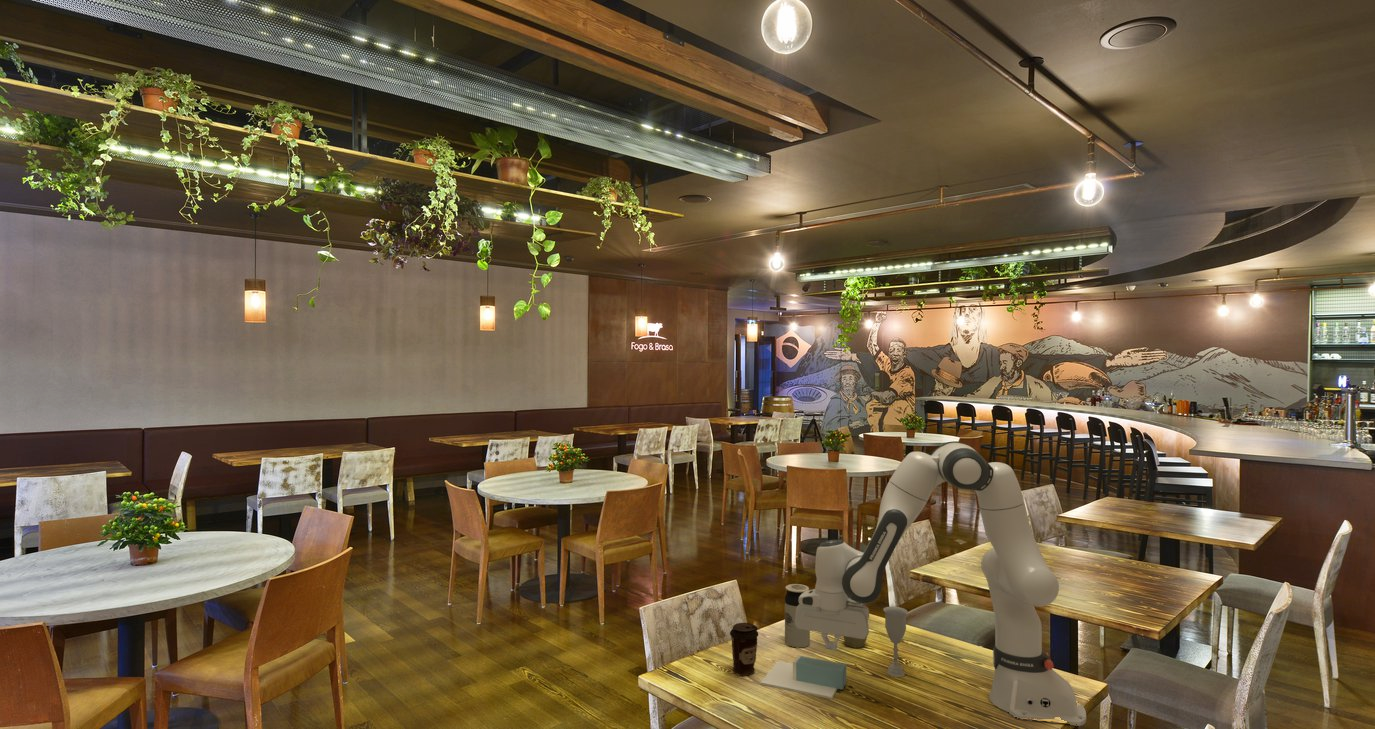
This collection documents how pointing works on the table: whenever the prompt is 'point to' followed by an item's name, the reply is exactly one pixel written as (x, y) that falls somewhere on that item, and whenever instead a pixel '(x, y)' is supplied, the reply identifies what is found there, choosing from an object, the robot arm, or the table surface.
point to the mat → (794, 682)
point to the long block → (819, 672)
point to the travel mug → (792, 633)
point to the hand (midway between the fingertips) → (831, 648)
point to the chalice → (895, 635)
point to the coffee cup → (744, 648)
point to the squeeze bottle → (854, 641)
